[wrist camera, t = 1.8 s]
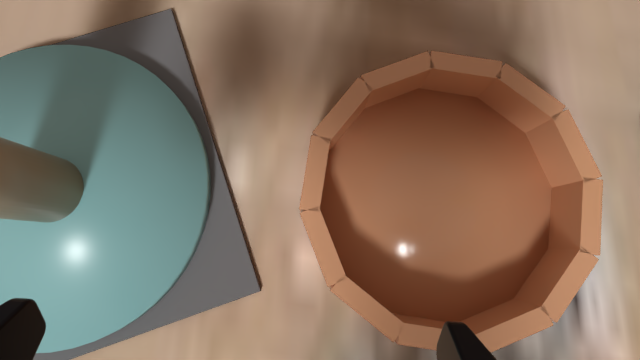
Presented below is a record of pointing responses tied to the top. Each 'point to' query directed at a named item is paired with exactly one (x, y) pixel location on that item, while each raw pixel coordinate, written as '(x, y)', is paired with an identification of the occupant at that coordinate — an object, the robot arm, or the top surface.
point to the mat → (222, 222)
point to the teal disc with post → (94, 189)
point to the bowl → (452, 201)
